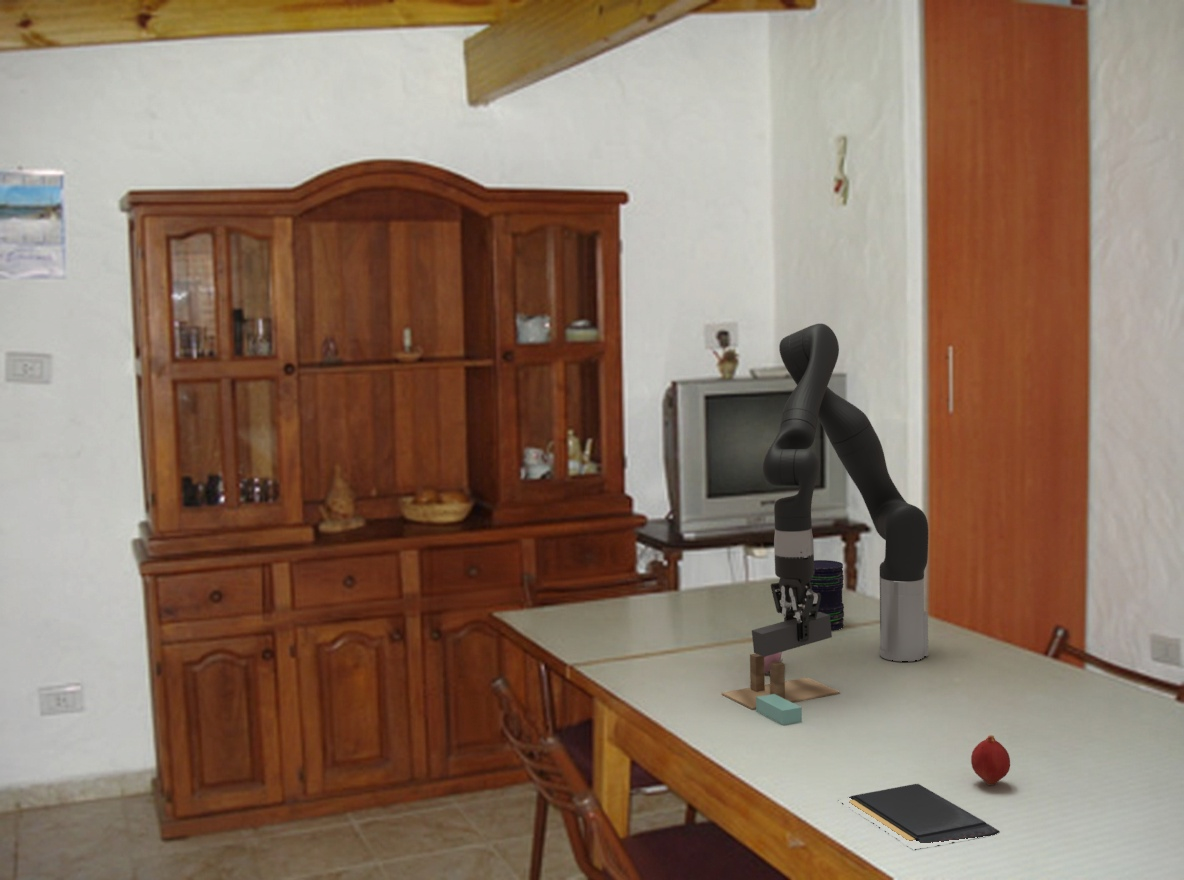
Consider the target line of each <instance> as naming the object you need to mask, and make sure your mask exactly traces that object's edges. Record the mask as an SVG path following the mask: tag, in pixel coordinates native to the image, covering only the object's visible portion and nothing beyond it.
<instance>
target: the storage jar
mask: <svg viewBox="0 0 1184 880" xmlns="http://www.w3.org/2000/svg"><path fill="white" fill-rule="evenodd" d="M843 569H844V563H842V562H840V561H837V560H836V561H835V560H829V559H822V560H821V559H820V560H819V559H816V560H815V559H814V575H813V576H812V577H811V578H810V584H811V587H812V591H813V592H815V593H820V594H821V600H820V604H819V609H818V612H822V613H825V614H828V615H830V622H831V632H835V631H834V630H837V631H840V630H842V629H844V627H843V626H844V617H845V611H844V610H845V606H844V603H843V588H844V585H845V584H844V580H845V579H844V570H843ZM801 606H804V604H801ZM803 612H804V610H802V611H801V614H802V616H803ZM811 612H812V611H811ZM811 612H810V614H811ZM841 628H842V629H841ZM839 629H840V630H839Z"/></svg>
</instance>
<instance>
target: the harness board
mask: <svg viewBox="0 0 1184 880" xmlns="http://www.w3.org/2000/svg"><path fill="white" fill-rule="evenodd" d="M749 671H750V672H749V674H750V675H749V676H750V677H749V679H750V684H749V685H750V687H747V688H741V689H735V690H729V691H724V692H721V696H724V697H726V698H727V697H728V698H727V699H730V700H731V701H734V702H736V703H737V704H740V705H741V706H743V707H745V708H748V709H750V710H751V711H754V710H755V711H756V697H759V696H765V695H771V694H776V695H778V696H780V697H782V698H784V699H786V700H788V701H790V702H792V703H798V702H801V701H807V700H812V699H818V698H824V697H828V696H833V695H839V694H841V691H839V690H837V689H835V688H832V687H830V686H827V685H826V684H823V683H821V682H819V681H816V680H814V679H812V678H810V677H802V678H801V677H800V678H797V679H792V680H791V679H789V680H786V679H785V677H786V676H785V663H784V662H782V663H781V662H773V663H770V671H769V684H765V682H766V681H765V674H766V673H765V674H764V657H763V656H761V655H758V654H756V653H752V654H749Z"/></svg>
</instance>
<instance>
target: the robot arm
mask: <svg viewBox="0 0 1184 880" xmlns="http://www.w3.org/2000/svg"><path fill="white" fill-rule="evenodd" d="M839 345H840V344H839V340H838V337H837V336H836V334H835V332H834V330H833V329H832V328H831V327H830V326H829V325H827V324H826V323H815V324H812V325H809V326H807V327H804V328H802V329H800V330H798V331H796V332H793V333H791V334H789V335H787V336H784V337H783V338H782V339H781V340H780V342H779V346H778V347H779V355H780V357H781V361H782V363H783V365H784V367H785V368H786V370H787V372H788V374H789V375H790V377H791V378H792V380H793V381H794V383H795V385H796V386H795V387H794V390H793V391H792V392H791V394H790V395H789V397H788V399H787V401H786V402H785V404H784V407H783V410H782V413H781V419H780V424H779V430H778V433H777V435H776V437H775V439H774V440H773V442H772V444H771V446H770V447H769V449H768V450H767V453H766V454H765V457H764V460H763V464H762V473H763V476H764V479H765V480H766V481H767V482H768V484H770V485H772V486H779V487H781V486H782V487H783V486H793V487H794V486H795V487H796V486H799V490H798V492H797V494H795V495H790V496H786V497H782V498H779V499H777V500H776V501H775V502H774V507H773V509H774V510H773V511H774V512H773V513H774V515H773V516H774V537H773V538H774V539H773V548H774V550H773V551H774V552H773V553H774V572H775V576H776V577H777V578H779V580H778V581H779V582H773V583H771V584H770V589H771V593H772V597H773V602H774V606H775V610H776V612H777V613H778V614H780V615H781V617H782V618H783V619H784V620H783V622H784V621H788V620H791V619H795V618H797V622H798V623H797V639H798V641H800V642H804V641H808V639H809V621H812V620H816V618H817V613H818V609H819V604H820V600H821V594H820V593H815V592H813V591H812V587H811V584H810V578H811V577H812V576H813V575H814V560H815V553H814V549H815V547H814V545H815V544H814V537H813V531H812V527H813V525H812V503H813V496H814V490H815V486H816V483H817V478H818V475H819V470H820V460H819V458H818V456H817V454H816V452H815V451H813V450H812V449H810V448H811V446H813V444H814V442H815V438H816V432H817V425H818V422H819V423H820V424H821V427H822V428H823V431H824V432H825V434H826V436H827V438H828V440H829V442H830V444H831V446H832V448H833V450H834V452H835V453H836V454H837V457H838V458H839V460H840V462H841V464H842V466H843V467H844V469H845V470H846V472H847V473H848V476H849V478H850V479H851V481H852V482H853V484H854V485H855V486H856V488H857V489H858V491H859V493H860V495H861V497H862V499H863V502H864V505H865V506H866V509H867V511H868V513H869V516H870V518H871V521H872V524H873V526H874V528H875V531H876V532H877V534H878V535H879V536H880V537H881V538H882V539H883V540H884V541H885V548H884V549H885V552H884V553H885V554H884V560H883V561H882V562H881V563H880V565H879V655H880V657H881V658H883V659H884V660H888V661H892V660H893V662H902V661H908V662H915V660H917V661H920V659H921V660H923V659H924V658H925V657H924V656H926V657H929V613H928V612H927V611H925V570H926V567H927V564H928V558H929V557H928V556H929V523H928V519H927V517H926V514H925V513H924V512H923V510H922V509H920V507H917V506H915V505H913V504H911V503H908V502H907V501H906V500H905V499H904V497H903V496H902V494H901V493H900V491H899V489H898V488H897V486H896V484H895V483H894V481H893V479H892V478H891V476H890V473H889V469H888V467H887V461H886V457H885V453H884V452H885V451H884V448H883V446H882V443H881V441H880V439H879V436H878V434H877V432H876V431H875V429H874V427H873V425H872V423H871V421H870V419H869V418H868V416H867V415H866V414H865V412H863V410H861V409H860V408H858V407H857V406H856V405H854V404H852V403H851V402H850V401H848V400H846V399H844V398H843V397H841V396H840V395H839V394H837V393H835V392H834V391H833V390H832V389H830V387H828V386H829V383H830V380H831V378H832V375H833V373H834V369H835V368H836V366H837V362H838V358H839V354H840V346H839ZM802 604H804V606H802ZM802 610H804V612H803V616H802ZM811 611H812V612H811ZM810 612H811V614H810ZM922 658H923V659H922Z"/></svg>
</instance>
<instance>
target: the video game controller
mask: <svg viewBox="0 0 1184 880" xmlns="http://www.w3.org/2000/svg"><path fill="white" fill-rule="evenodd" d="M782 654H783V652H779V653H776V654H773V655H769V656H766V657H764V674H767V673H770V663H773V662H781V663H783V660H784V659H783V658H782Z"/></svg>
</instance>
